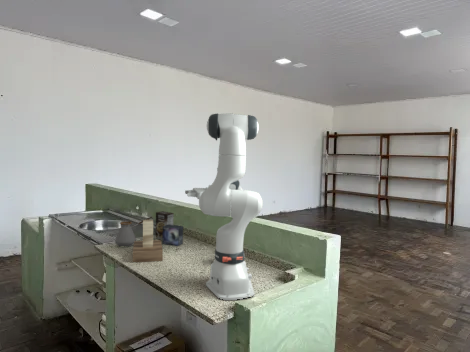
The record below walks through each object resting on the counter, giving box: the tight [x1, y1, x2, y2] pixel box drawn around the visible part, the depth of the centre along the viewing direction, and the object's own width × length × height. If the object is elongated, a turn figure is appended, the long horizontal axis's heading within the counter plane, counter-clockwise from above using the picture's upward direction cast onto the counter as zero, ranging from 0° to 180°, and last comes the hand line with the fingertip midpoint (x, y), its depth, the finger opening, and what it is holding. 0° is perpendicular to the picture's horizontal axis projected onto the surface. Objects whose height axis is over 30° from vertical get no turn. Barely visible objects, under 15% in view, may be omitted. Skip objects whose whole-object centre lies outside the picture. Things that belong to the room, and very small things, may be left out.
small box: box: [161, 224, 184, 247], centre depth 189 cm, size 11×6×10 cm, turn 73°
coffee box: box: [155, 210, 175, 240], centre depth 200 cm, size 9×6×16 cm
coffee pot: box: [114, 216, 154, 247], centre depth 186 cm, size 21×12×15 cm, turn 124°
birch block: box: [142, 219, 154, 247], centre depth 167 cm, size 5×5×13 cm
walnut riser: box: [132, 239, 164, 263], centre depth 167 cm, size 20×14×5 cm
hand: (186, 193), depth 170 cm, fingers open, 8 cm apart
